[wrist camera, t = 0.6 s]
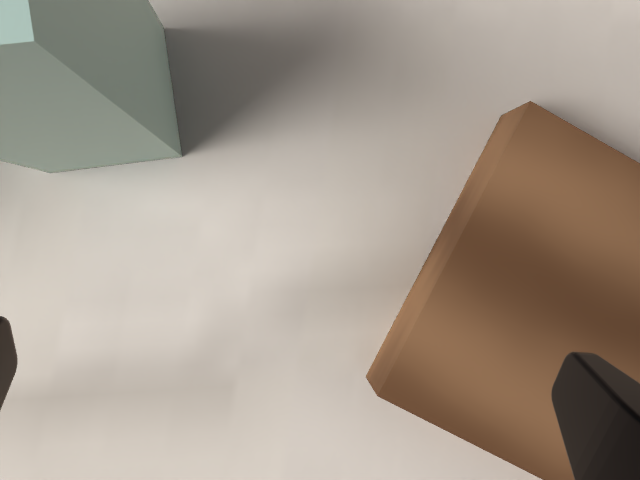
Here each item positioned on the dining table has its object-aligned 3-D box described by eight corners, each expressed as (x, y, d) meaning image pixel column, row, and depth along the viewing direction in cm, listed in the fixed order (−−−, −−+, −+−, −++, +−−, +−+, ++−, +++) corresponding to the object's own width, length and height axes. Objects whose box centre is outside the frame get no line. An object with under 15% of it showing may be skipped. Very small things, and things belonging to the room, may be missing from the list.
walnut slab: (606, 496, 23) (655, 536, 20) (363, 373, 22) (377, 396, 19) (731, 251, 24) (797, 253, 21) (496, 117, 23) (530, 101, 20)
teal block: (182, 156, 21) (34, 40, 8) (50, 173, 21) (-326, 78, 8) (163, 28, 21) (-17, -298, 8) (30, 42, 21) (-386, -277, 8)
